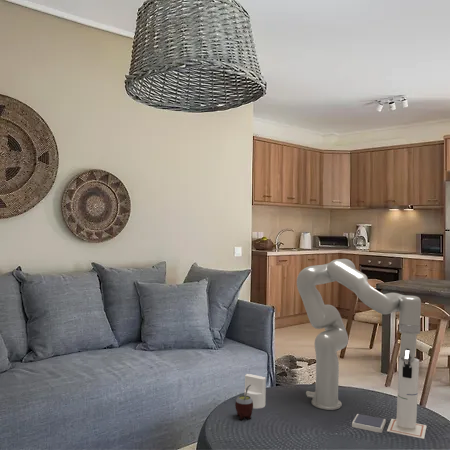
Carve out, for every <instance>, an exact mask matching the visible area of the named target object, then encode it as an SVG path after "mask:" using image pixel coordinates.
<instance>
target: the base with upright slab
mask: <svg viewBox="0 0 450 450" xmlns="http://www.w3.org/2000/svg"><path fill="white" fill-rule="evenodd" d="M266 378H267V377H265V376H261V375H256V374H251V373H246V374H245V375H244V394H245V393H246V388H247V387H248V386H249V385H251V386H250V387H249V388H248V391H247V395H246V396H250V397H251V399H252V400H253V409H254V410H256V409H257V410H259V409H263V408H265V406H266V402H267V401H266V397H267V395H266V394H267V393H266V392H267V391H266V390H267V388H266V387H267V385H266V384H267V379H266Z"/></svg>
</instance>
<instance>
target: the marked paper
mask: <svg viewBox="0 0 450 450" xmlns="http://www.w3.org/2000/svg"><path fill="white" fill-rule="evenodd" d="M426 430H427V425H426V424H421V423H418V422H416V427H415V428H405V427H402V426H399V425H398V424H397V423H396V418H391V420H390V422H389V424H388V427H387V430H386V432H389V433H391V434H397V435H401V436H403V435H404V436H407V437H413V438H418V439H422V440H424V439H425V435H426Z"/></svg>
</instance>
